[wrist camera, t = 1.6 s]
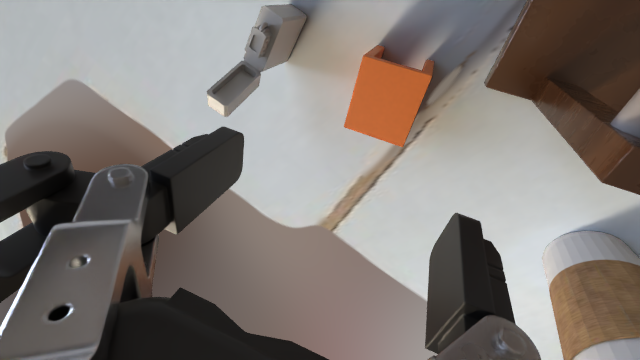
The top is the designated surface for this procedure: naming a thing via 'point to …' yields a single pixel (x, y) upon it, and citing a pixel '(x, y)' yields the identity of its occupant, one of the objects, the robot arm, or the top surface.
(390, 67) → the clip
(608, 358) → the coffee cup
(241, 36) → the top surface
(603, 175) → the handle stand
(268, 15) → the lighter
